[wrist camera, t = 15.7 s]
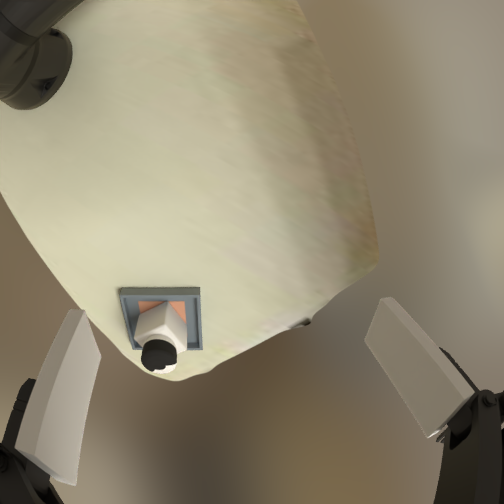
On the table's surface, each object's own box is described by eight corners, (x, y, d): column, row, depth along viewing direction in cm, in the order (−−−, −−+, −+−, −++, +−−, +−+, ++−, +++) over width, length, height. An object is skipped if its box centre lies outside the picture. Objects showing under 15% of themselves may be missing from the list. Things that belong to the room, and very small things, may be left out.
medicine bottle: (138, 314, 49) (128, 358, 38) (167, 299, 49) (162, 345, 38) (159, 337, 52) (155, 382, 42) (187, 325, 52) (188, 370, 42)
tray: (122, 287, 47) (119, 295, 45) (199, 287, 50) (200, 294, 48) (134, 341, 53) (132, 349, 51) (202, 341, 56) (202, 349, 54)
